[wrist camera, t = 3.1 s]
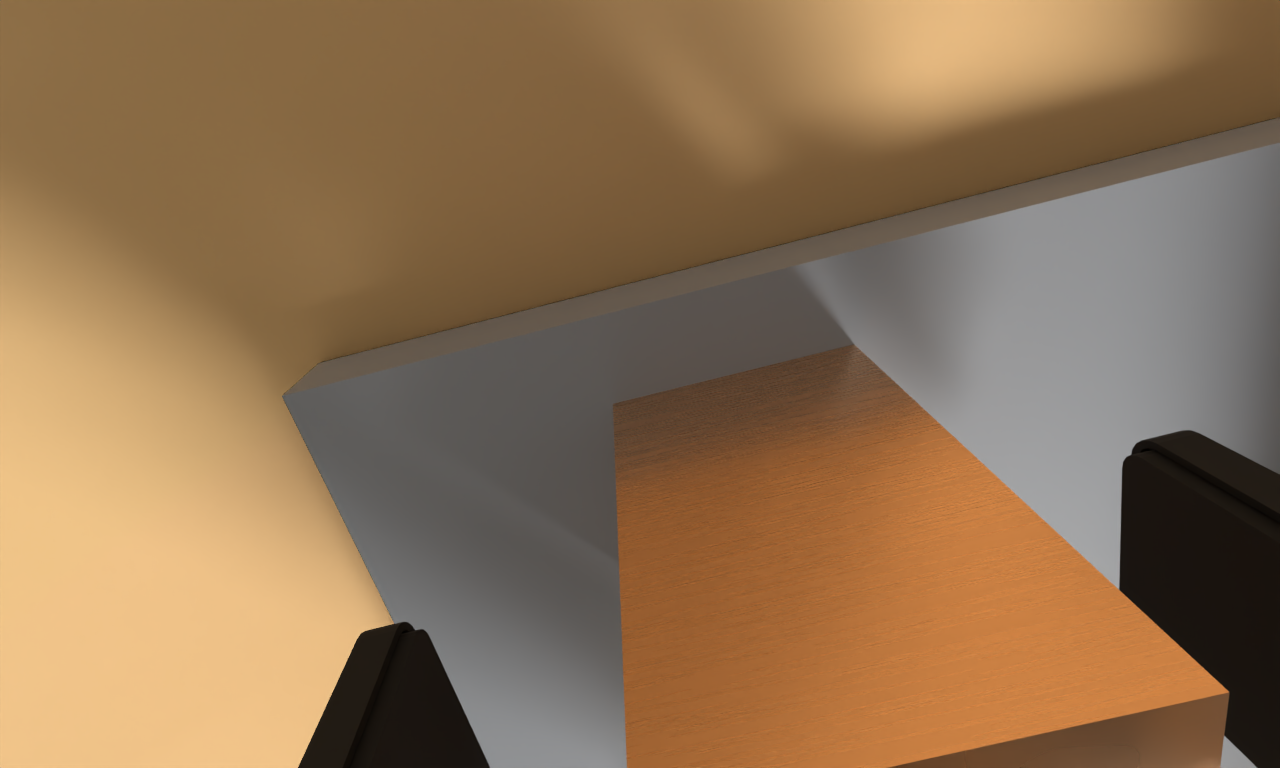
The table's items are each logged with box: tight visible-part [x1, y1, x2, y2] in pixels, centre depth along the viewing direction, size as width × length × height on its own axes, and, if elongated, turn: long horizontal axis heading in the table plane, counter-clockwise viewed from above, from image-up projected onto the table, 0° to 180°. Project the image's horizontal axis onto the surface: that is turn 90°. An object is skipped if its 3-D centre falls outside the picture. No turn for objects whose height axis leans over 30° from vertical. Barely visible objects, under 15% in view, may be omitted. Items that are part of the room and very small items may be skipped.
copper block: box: [613, 344, 1229, 768], centre depth 8 cm, size 4×4×7 cm
